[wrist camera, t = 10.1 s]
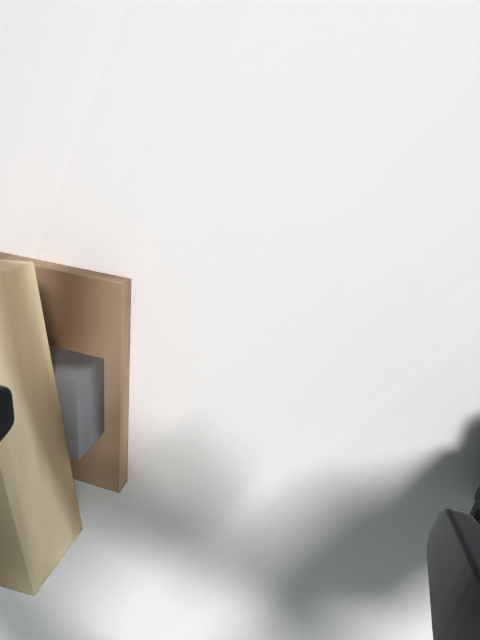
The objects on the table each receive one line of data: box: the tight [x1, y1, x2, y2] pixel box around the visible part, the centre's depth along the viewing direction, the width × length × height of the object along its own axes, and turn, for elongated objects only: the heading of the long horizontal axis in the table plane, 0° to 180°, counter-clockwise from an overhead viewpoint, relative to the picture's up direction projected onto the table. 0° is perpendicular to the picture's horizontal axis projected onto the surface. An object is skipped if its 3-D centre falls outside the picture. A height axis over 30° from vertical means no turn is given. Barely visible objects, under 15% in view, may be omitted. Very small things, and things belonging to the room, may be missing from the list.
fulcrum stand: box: [0, 252, 131, 493], centre depth 22 cm, size 8×14×4 cm, turn 173°
